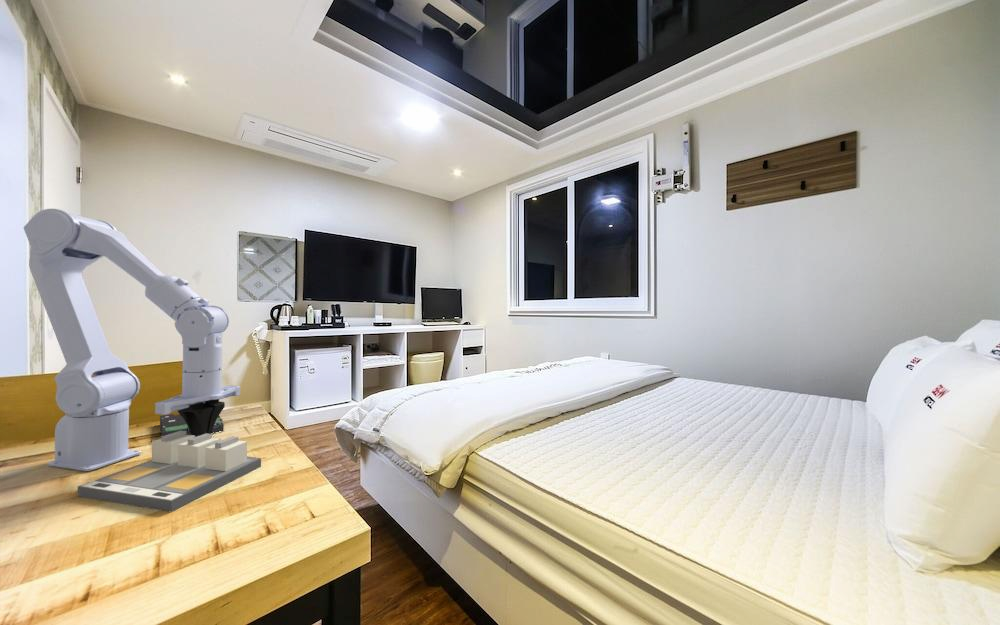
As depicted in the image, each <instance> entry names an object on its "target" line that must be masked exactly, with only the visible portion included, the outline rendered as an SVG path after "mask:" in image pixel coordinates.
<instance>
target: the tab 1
mask: <svg viewBox="0 0 1000 625" xmlns="http://www.w3.org/2000/svg"><path fill="white" fill-rule="evenodd" d="M160 437H161V438H158V439H155V440H151V460H152V462H158V463H166V464H172V463H175V462H178V444H181V443H184V442H187V441H188V439H191V438H194V437H195V436H194V435H186V431H178V432H175V433H171V434H168V435H165V436H162V435H161V436H160Z"/></svg>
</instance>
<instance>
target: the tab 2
mask: <svg viewBox="0 0 1000 625" xmlns="http://www.w3.org/2000/svg"><path fill="white" fill-rule="evenodd" d="M221 440H222V438H220V437H218V438H217V437H213V434H207V433H206V434H203V435H200V436H197V437H194V438H191V439H188V441H187V442H184V443H181V444H178V465H181V466H188V467H196V468H198V467H201V466H203V465H205V452H206V447H209V446H211V445H214V444H215V443H216V442H219V441H221Z"/></svg>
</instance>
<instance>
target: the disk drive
mask: <svg viewBox="0 0 1000 625" xmlns="http://www.w3.org/2000/svg"><path fill="white" fill-rule="evenodd" d="M223 422H224V420H223V419H222V418H221V416H220V415H219V416H218V418H217V420H216V422H215V424H214V427H213V430H212V432H211V433H213V432H219V431H223V432H224V430H225V429H224V427H225V426H224V425H225V424H224V423H223ZM159 428H160V431H161V437H162V436H165V435H168V434H171V433H175V432H178V431H186V435H191V433H190V430H189V428H188V426H187V424H186V422H185V420H184V419H183V417H182V416H181V415H180V414H173V413H169V414H166V415H162V414H161V415H160V417H159ZM219 433H220V432H219ZM213 434H214V433H213Z"/></svg>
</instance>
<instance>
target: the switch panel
mask: <svg viewBox="0 0 1000 625" xmlns="http://www.w3.org/2000/svg"><path fill="white" fill-rule="evenodd" d="M260 467H262V458H261V457H255V456H248V455H247V462H245V463H242V464H240V465H238V466H236V467H234V468H232V469H230V470H228V471H218V470H211V469H205V465H203V466H201V467H198V468H196V467H188V466H181V465H178V462H175V463H172V464H166V463H158V462H152V459H151V460H148V461H145V462H141V463H139V464H136V465H133V466H131V467H128V468H125V469H123V470H119V471H117V472H115V473H111V474H108V475H106V476H104V477H100V478H98V479H95V480H91V481H89V482H86V483H83V484H80V485H78V486H77V497H78V498H84V499H90V500H96V501H102V502H109V503H116V504H120V505H127V506H134V507H140V508H145V509H152V510H157V511H158V510H159V511H163V512H171V513H172V512H174V511H176V510H178V509H180V508H182V507H185V505H189V504H190V503H192V502H194V501H195V500H197V499H200V498H202V497H204V496H206V495H208V494H210V493H212V492H213V491H215V490H218V489H219V488H222V487H223V486H225V485H227V484H229V483H231V482H234V481H235V480H237V479H239V478H241V477H243V476H245V475H246V474H249V473H251V472H253V471H254V470H256V469H258V468H260Z"/></svg>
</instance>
